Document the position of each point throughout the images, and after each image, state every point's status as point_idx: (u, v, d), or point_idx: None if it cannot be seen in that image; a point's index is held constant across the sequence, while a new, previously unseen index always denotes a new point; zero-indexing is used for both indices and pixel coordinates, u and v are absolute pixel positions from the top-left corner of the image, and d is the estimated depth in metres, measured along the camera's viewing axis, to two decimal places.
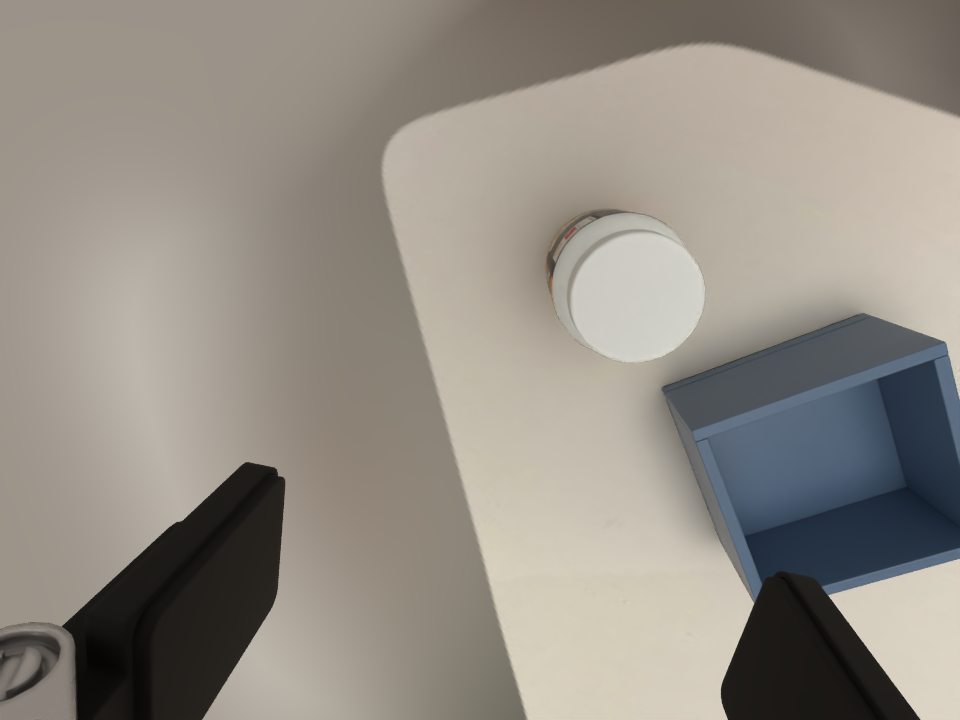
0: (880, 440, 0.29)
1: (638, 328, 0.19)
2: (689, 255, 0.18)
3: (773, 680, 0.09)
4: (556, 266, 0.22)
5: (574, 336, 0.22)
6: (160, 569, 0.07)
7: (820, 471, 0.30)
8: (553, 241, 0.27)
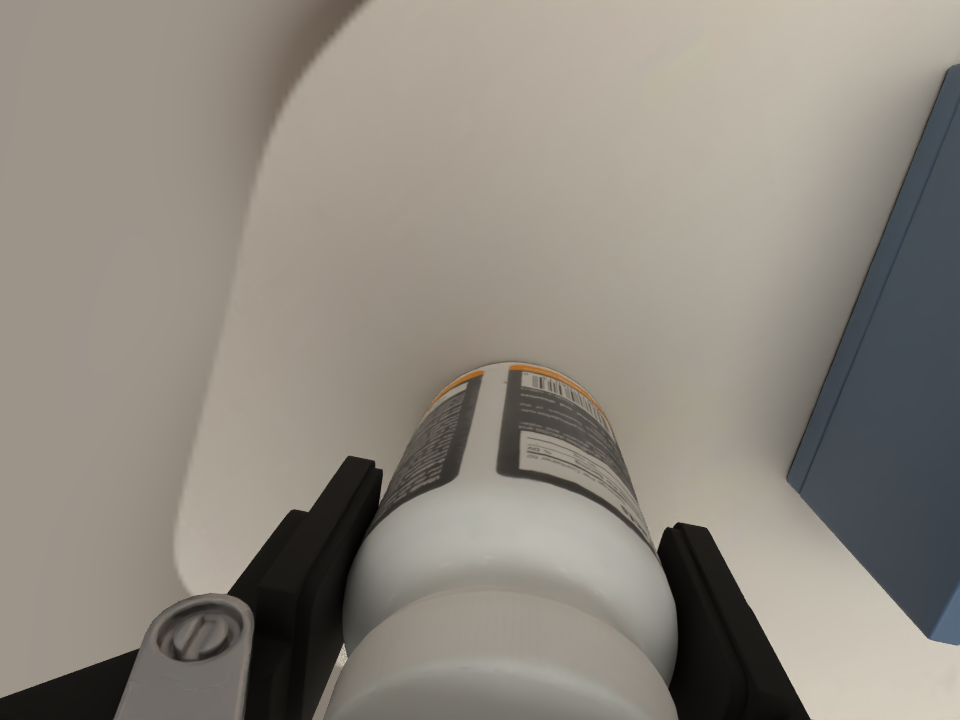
0: None
1: None
2: (462, 674, 0.06)
3: None
4: None
5: None
6: (307, 549, 0.08)
7: None
8: None
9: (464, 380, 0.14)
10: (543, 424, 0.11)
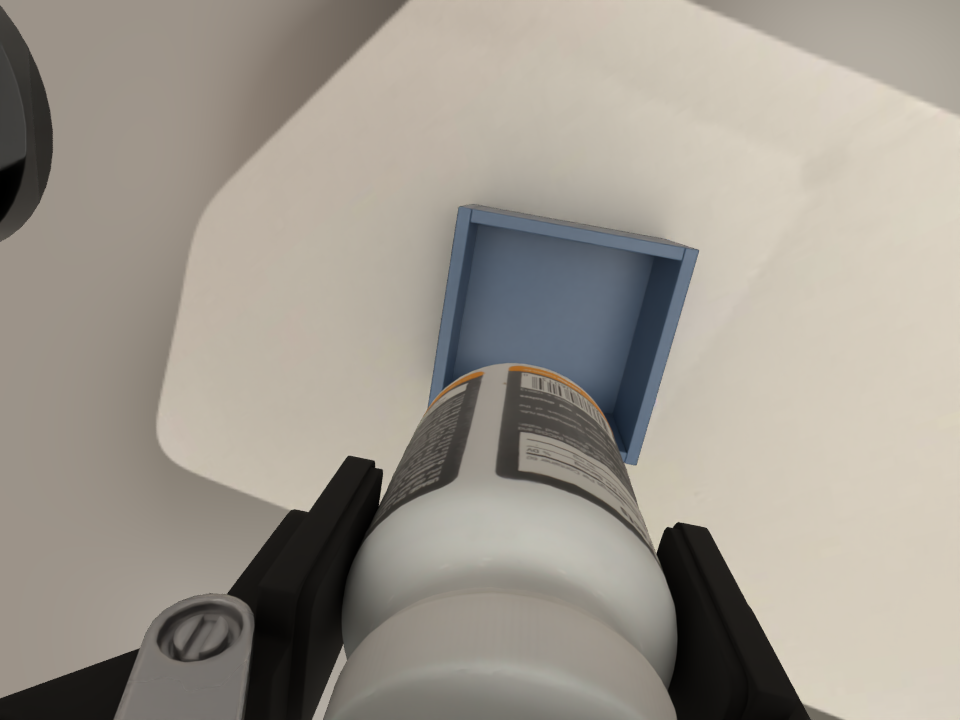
0: (593, 250, 0.29)
1: None
2: (461, 676, 0.06)
3: None
4: None
5: None
6: (307, 549, 0.08)
7: (591, 312, 0.30)
8: None
9: (463, 381, 0.14)
10: (543, 426, 0.11)
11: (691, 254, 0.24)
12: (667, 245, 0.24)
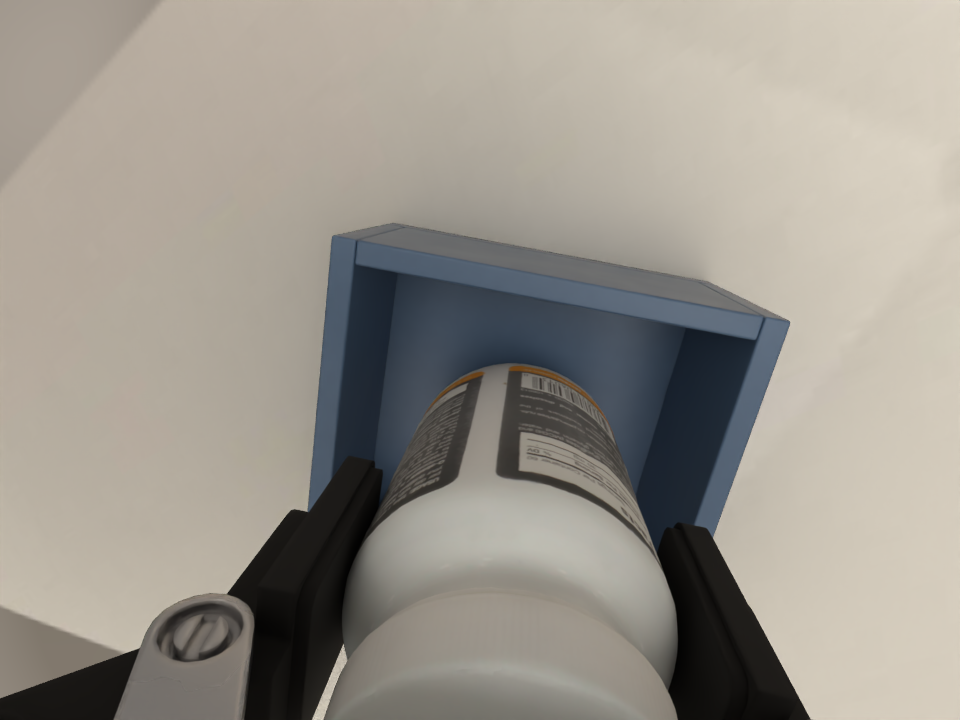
0: None
1: None
2: (461, 676, 0.06)
3: None
4: None
5: None
6: (307, 549, 0.08)
7: None
8: None
9: (464, 381, 0.14)
10: (543, 426, 0.11)
11: (775, 329, 0.12)
12: (729, 311, 0.12)
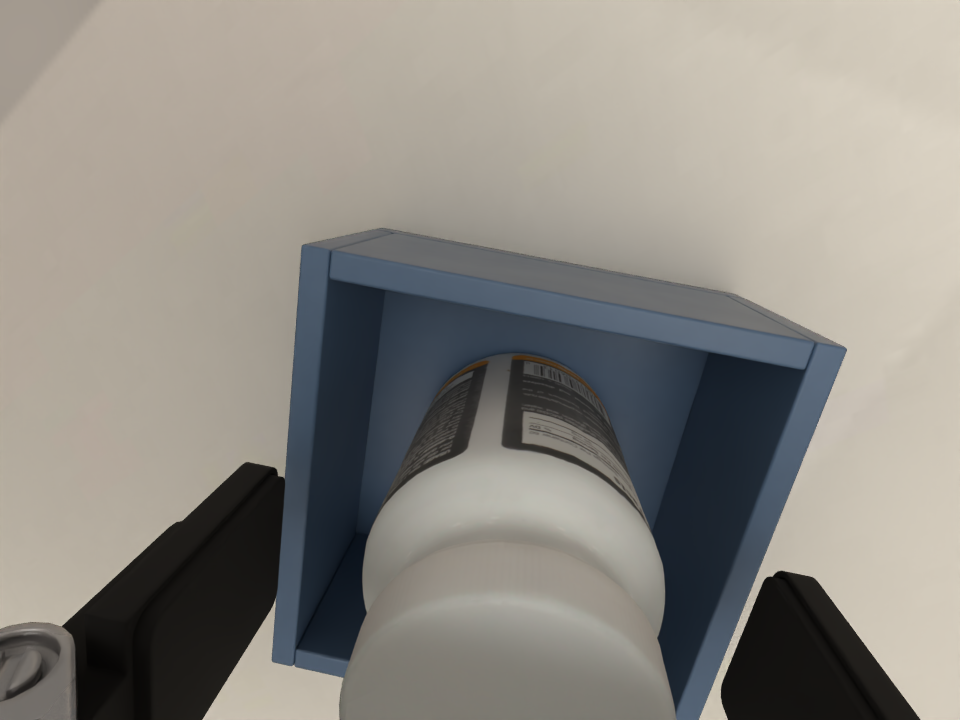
0: None
1: None
2: (474, 605, 0.07)
3: (773, 680, 0.09)
4: None
5: None
6: (160, 569, 0.07)
7: None
8: None
9: (470, 369, 0.15)
10: (543, 406, 0.12)
11: (829, 357, 0.10)
12: (773, 336, 0.10)
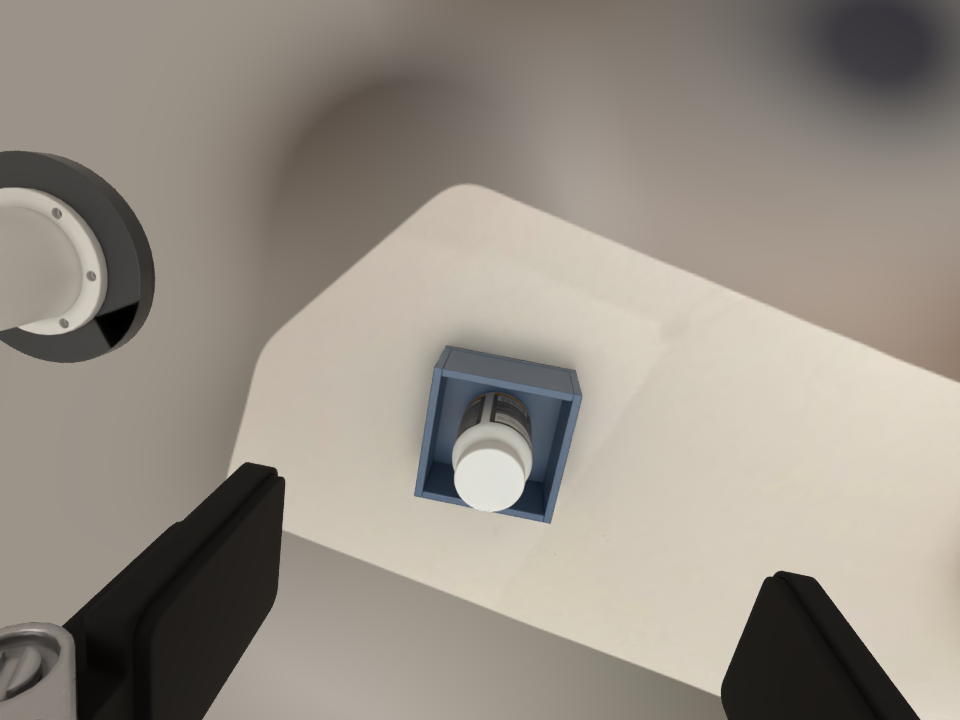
0: None
1: (502, 488, 0.35)
2: (483, 450, 0.35)
3: (773, 680, 0.09)
4: None
5: None
6: (160, 569, 0.07)
7: None
8: None
9: (479, 398, 0.43)
10: (502, 411, 0.39)
11: (577, 398, 0.38)
12: (563, 392, 0.38)
